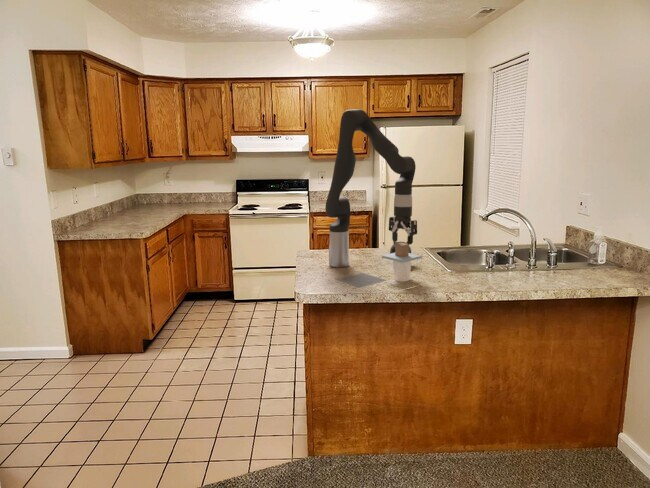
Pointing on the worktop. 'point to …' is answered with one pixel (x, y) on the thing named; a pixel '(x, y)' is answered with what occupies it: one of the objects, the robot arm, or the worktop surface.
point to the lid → (401, 254)
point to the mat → (360, 280)
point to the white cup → (401, 270)
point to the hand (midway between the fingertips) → (402, 242)
